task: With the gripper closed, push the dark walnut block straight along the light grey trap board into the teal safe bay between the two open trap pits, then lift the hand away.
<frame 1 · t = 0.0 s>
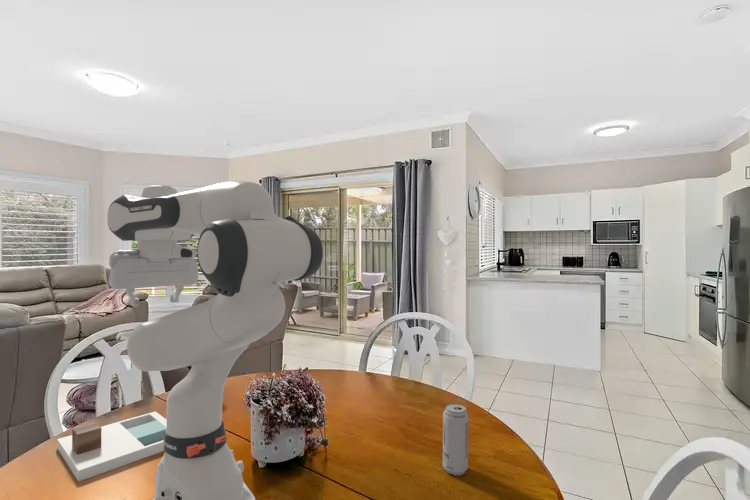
hand: (155, 303, 102), 39 cm above the table, tool pointing down, fingers open, 8 cm apart
trap board: (122, 445, 106), on the table
walnut block: (86, 447, 100), point 2 cm above the table, touching trap board
energy drink can: (455, 470, 96), on the table
canned food: (202, 400, 138), on the table
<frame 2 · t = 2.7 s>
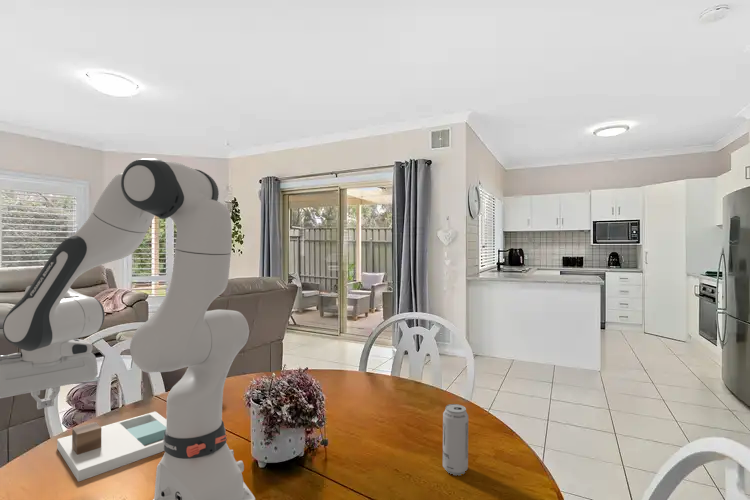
hand: (45, 407, 94), 15 cm above the table, tool pointing down, fingers closed
nothing on the table moved.
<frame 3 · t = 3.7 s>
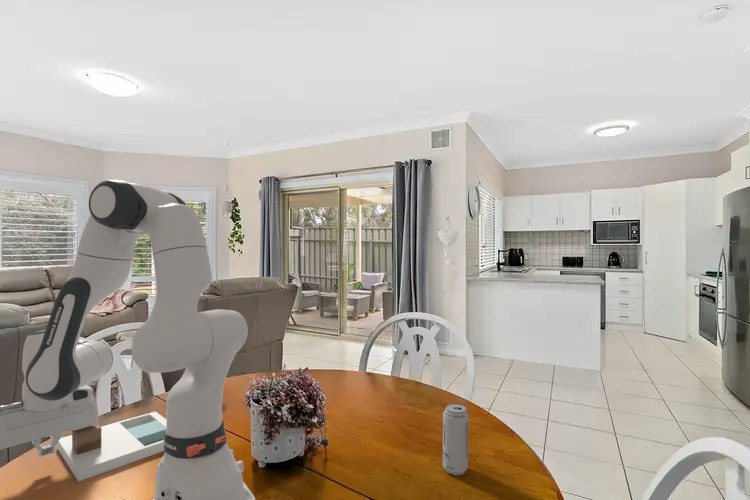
hand: (46, 454, 94), 4 cm above the table, tool pointing down, fingers closed
nothing on the table moved.
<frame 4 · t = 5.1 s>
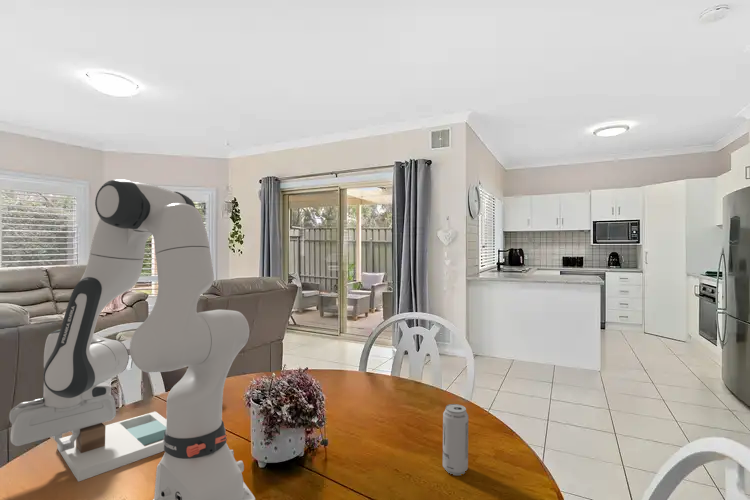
hand: (66, 449, 97), 4 cm above the table, tool pointing down, fingers closed
walnut block: (90, 446, 101), point 3 cm above the table, touching gripper, trap board
everything else where it was.
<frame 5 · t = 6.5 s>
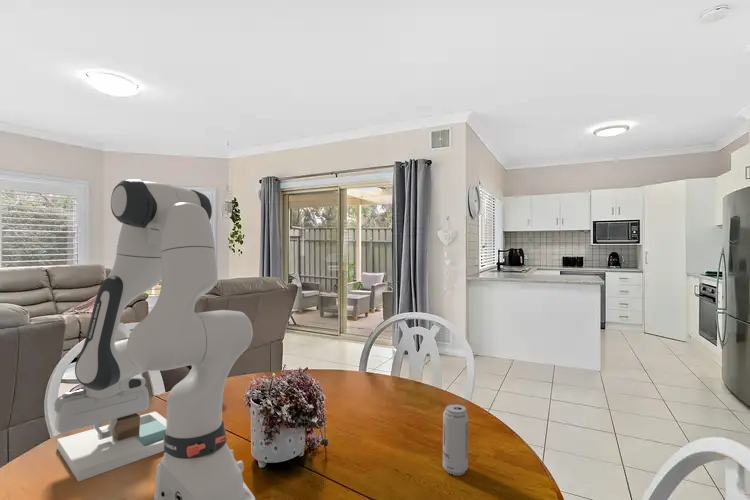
hand: (104, 437, 103), 4 cm above the table, tool pointing down, fingers closed
walnut block: (125, 434, 107), point 3 cm above the table, touching gripper
everything else where it was.
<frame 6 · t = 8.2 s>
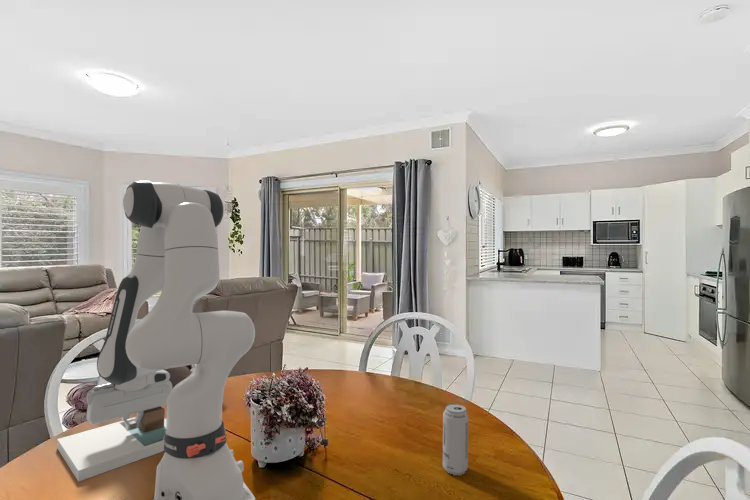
hand: (132, 429, 108), 4 cm above the table, tool pointing down, fingers closed
walnut block: (151, 426, 111), point 3 cm above the table, touching gripper, trap board
everything else where it was.
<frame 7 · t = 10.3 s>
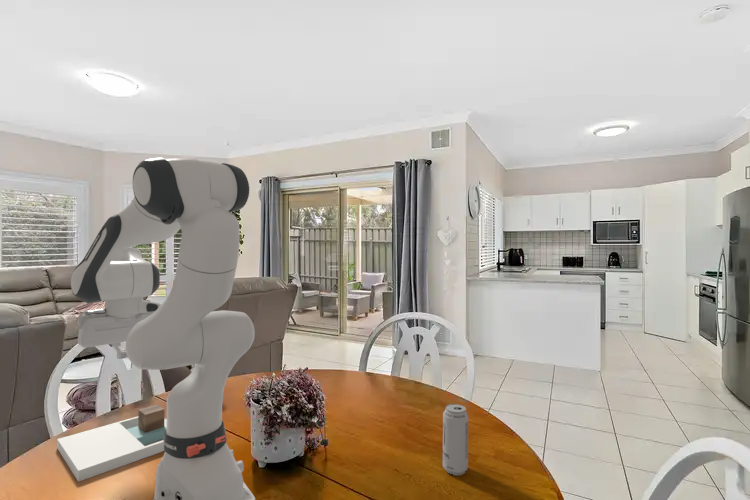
hand: (124, 357, 108), 23 cm above the table, tool pointing down, fingers closed
walnut block: (151, 427, 112), point 2 cm above the table, touching trap board
everything else where it was.
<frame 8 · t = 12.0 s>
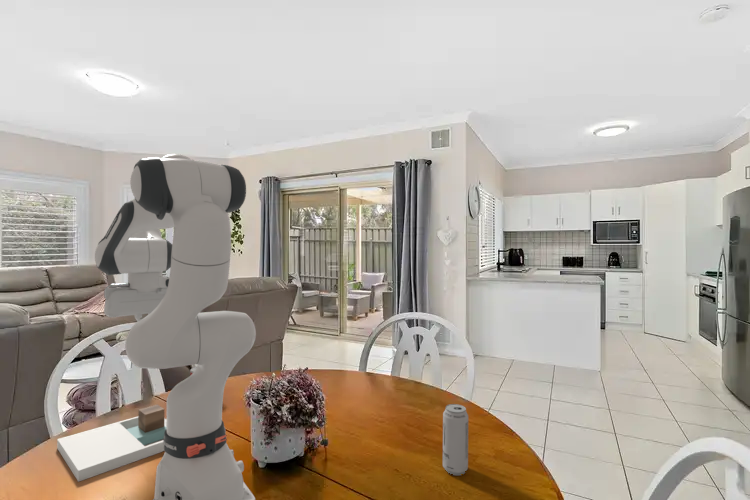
hand: (145, 328, 117), 29 cm above the table, tool pointing down, fingers closed
nothing on the table moved.
at the end: walnut block inside the target area (1.3 cm from its centre), point 2.5 cm above the table; walnut block tilted 0°; walnut block touching trap board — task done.
